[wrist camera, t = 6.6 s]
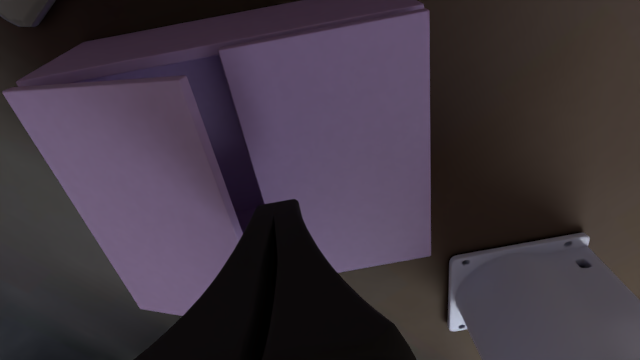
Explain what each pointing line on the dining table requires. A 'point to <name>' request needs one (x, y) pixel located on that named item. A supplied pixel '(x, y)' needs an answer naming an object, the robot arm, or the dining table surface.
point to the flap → (138, 180)
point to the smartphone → (25, 11)
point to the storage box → (301, 113)
